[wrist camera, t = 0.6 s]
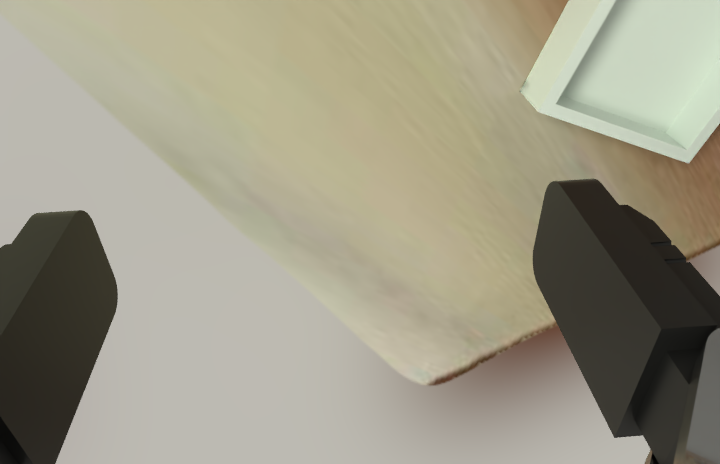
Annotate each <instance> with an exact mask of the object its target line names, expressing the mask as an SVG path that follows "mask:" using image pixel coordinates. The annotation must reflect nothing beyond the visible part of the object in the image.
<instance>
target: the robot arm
mask: <svg viewBox="0 0 720 464" xmlns="http://www.w3.org/2000/svg"><path fill="white" fill-rule="evenodd" d="M533 269H534V275H535V279H536V282H537V284H538V286H539V288H540V290H541V292H542V294H543V296H544V298H545V300H546V302H547V304H548V306H549V308H550V310H551V312H552V314H553V316H554V318H555V320H556V322H557V324H558V326H559V328H560V330H561V332H562V334H563V336H564V338H565V340H566V342H567V344H568V346H569V348H570V350H571V352H572V354H573V356H574V358H575V360H576V362H577V364H578V366H579V368H580V370H581V372H582V374H583V376H584V378H585V380H586V382H587V384H588V386H589V388H590V390H591V392H592V394H593V396H594V398H595V400H596V402H597V404H598V406H599V408H600V410H601V412H602V414H603V416H604V418H605V420H606V422H607V424H608V426H609V428H610V430H611V432H612V434H613V436H614V438H617V437H627V436H640V435H643V436H644V438H645V439H646V441H647V443H648V445H649V446H650V448H651V450H650V452H649V454H648V456H647V458H646V461H645V464H720V296H719V295H718V294H717V293H716V292H715V290H714V289H713V288H712V287H711V286H710V285H709V284H708V282H707V281H706V280H705V279H704V278H703V277H702V276H701V275H700V273H699V272H698V271H697V270H696V269H695V268H694V267H693V265H692V264H691V263H690V262H686V257H685V256H684V255H683V254H682V253H681V252H680V251H679V249H678V248H677V247H676V246H675V245H671V240H670V239H669V238H668V237H667V236H666V235H665V233H664V232H663V231H662V230H661V229H660V228H659V227H658V225H657V224H656V223H655V222H654V221H653V220H651V219H649V218H648V217H646V216H645V215H643V214H641V213H640V212H638V211H636V210H635V209H633V208H632V207H630V206H628V205H619V204H618V203H617V202H616V201H615V200H614V198H613V197H612V196H611V195H610V193H609V192H608V191H607V190H606V189H605V187H604V186H603V185H602V184H601V183H600V182H599V181H598V180H596V179H583V180H568V181H553V182H551V183H550V184H549V185H548V187H547V189H546V192H545V196H544V201H543V206H542V211H541V215H540V220H539V225H538V230H537V235H536V240H535V245H534V250H533ZM117 295H118V294H117V285H116V280H115V277H114V274H113V272H112V269H111V267H110V264H109V262H108V259H107V256H106V254H105V252H104V249H103V246H102V244H101V241H100V238H99V236H98V233H97V231H96V228H95V226H94V223H93V221H92V219H91V218H90V216H89V215H88V213H86V212H85V211H81V210H79V211H66V212H65V211H64V212H49V213H36V214H34V215H33V216H31V218H30V219H29V220H28V222H27V223H26V224H25V226H24V227H23V229H22V230H21V231H20V233H19V234H18V236H17V237H16V238H15V240H14V241H13V243H12V244H7V245H4V246H2V247H1V248H0V464H55V463H56V460H57V458H58V455H59V453H60V450H61V448H62V445H63V443H64V440H65V438H66V435H67V433H68V430H69V428H70V425H71V423H72V420H73V417H74V415H75V413H76V410H77V407H78V405H79V402H80V400H81V397H82V395H83V392H84V390H85V388H86V385H87V383H88V380H89V377H90V375H91V372H92V370H93V367H94V365H95V362H96V360H97V357H98V355H99V352H100V350H101V347H102V345H103V342H104V340H105V337H106V335H107V332H108V330H109V327H110V325H111V322H112V320H113V317H114V315H115V312H116V307H117V299H118V298H117Z"/></svg>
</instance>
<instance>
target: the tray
mask: <svg viewBox="0 0 720 464" xmlns="http://www.w3.org/2000/svg"><path fill="white" fill-rule="evenodd" d="M520 92H521V93H522V94H523V95H524V96H525V98H526V99H527V100H528V101H529V102H530V103H531V104H532V106H533V107H534V108H535V109H536V110H537V111H538V112H540V113H543V114H546V115H548V116H551V117H554V118H557V119H560V120H563V121H566V122H569V123H572V124H575V125H578V126H581V127H584V128H586V129H589V130H592V131H595V132H598V133H601V134H604V135H607V136H610V137H613V138H616V139H619V140H622V141H624V142H627V143H630V144H633V145H636V146H639V147H642V148H645V149H648V150H651V151H654V152H657V153H659V154H662V155H665V156H668V157H671V158H674V159H677V160H680V161H683V162H686V163H689V162H690V161H691V160H692V159H693V157H694V156H695V155H696V153H697V152H698V151H699V150H700V148H701V147H702V146H703V144H704V143H705V142H706V140H707V139H708V138H709V137H710V135H711V134H712V133H713V131H714V130H715V129H716V127H717V126H718V125H719V124H720V0H569V1H568V3H567V5H566V7H565V8H564V10H563V12H562V14H561V16H560V18H559V20H558V21H557V23H556V25H555V27H554V29H553V31H552V33H551V35H550V36H549V38H548V40H547V42H546V44H545V46H544V48H543V49H542V51H541V53H540V55H539V57H538V59H537V61H536V62H535V64H534V66H533V68H532V70H531V72H530V74H529V75H528V77H527V79H526V81H525V83H524V85H523V87H522V88H521V90H520Z"/></svg>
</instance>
